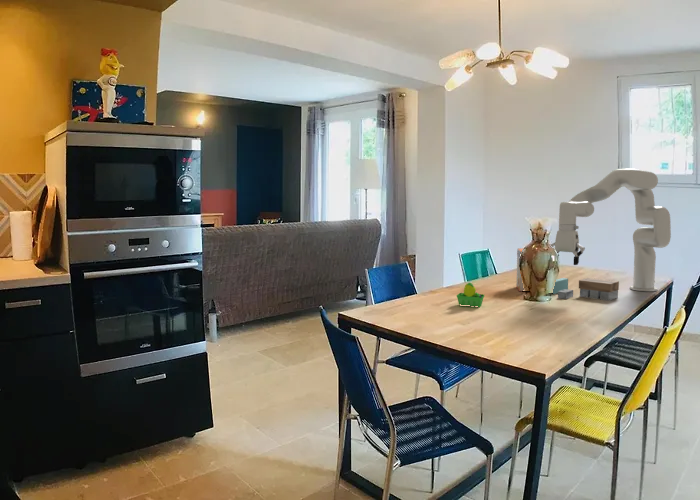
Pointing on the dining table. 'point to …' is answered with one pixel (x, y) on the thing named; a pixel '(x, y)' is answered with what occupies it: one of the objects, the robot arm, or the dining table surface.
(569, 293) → the bar
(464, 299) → the fruit basket
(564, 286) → the block
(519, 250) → the cracker box
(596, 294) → the bar
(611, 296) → the bar
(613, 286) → the board
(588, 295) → the bar
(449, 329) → the dining table surface
